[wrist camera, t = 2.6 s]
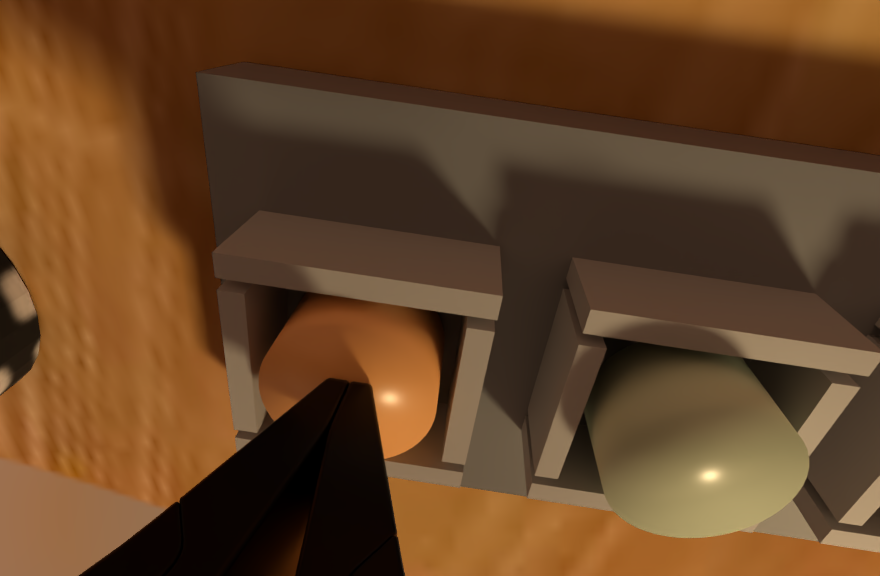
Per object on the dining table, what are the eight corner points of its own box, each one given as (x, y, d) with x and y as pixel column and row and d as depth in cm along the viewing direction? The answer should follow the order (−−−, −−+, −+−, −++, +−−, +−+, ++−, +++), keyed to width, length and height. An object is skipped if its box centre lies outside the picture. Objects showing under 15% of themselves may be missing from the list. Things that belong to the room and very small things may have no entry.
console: (1172, 198, 10) (1520, 294, 7) (892, 498, 15) (1011, 641, 12) (243, 61, 10) (123, 86, 7) (268, 403, 15) (206, 516, 12)
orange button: (455, 283, 10) (448, 340, 8) (435, 403, 12) (425, 472, 10) (292, 258, 10) (252, 310, 8) (296, 382, 12) (263, 447, 10)
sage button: (783, 348, 9) (851, 424, 8) (712, 466, 11) (754, 549, 9) (610, 322, 9) (637, 392, 8) (565, 442, 11) (580, 523, 9)
